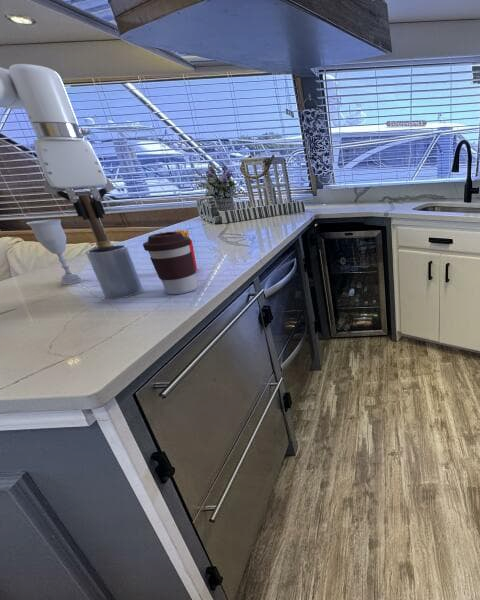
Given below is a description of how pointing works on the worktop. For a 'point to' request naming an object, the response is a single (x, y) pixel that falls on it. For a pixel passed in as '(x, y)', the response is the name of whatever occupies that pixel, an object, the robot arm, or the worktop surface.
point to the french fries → (189, 245)
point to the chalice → (54, 244)
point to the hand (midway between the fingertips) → (93, 217)
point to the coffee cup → (172, 261)
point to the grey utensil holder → (115, 272)
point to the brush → (95, 224)
